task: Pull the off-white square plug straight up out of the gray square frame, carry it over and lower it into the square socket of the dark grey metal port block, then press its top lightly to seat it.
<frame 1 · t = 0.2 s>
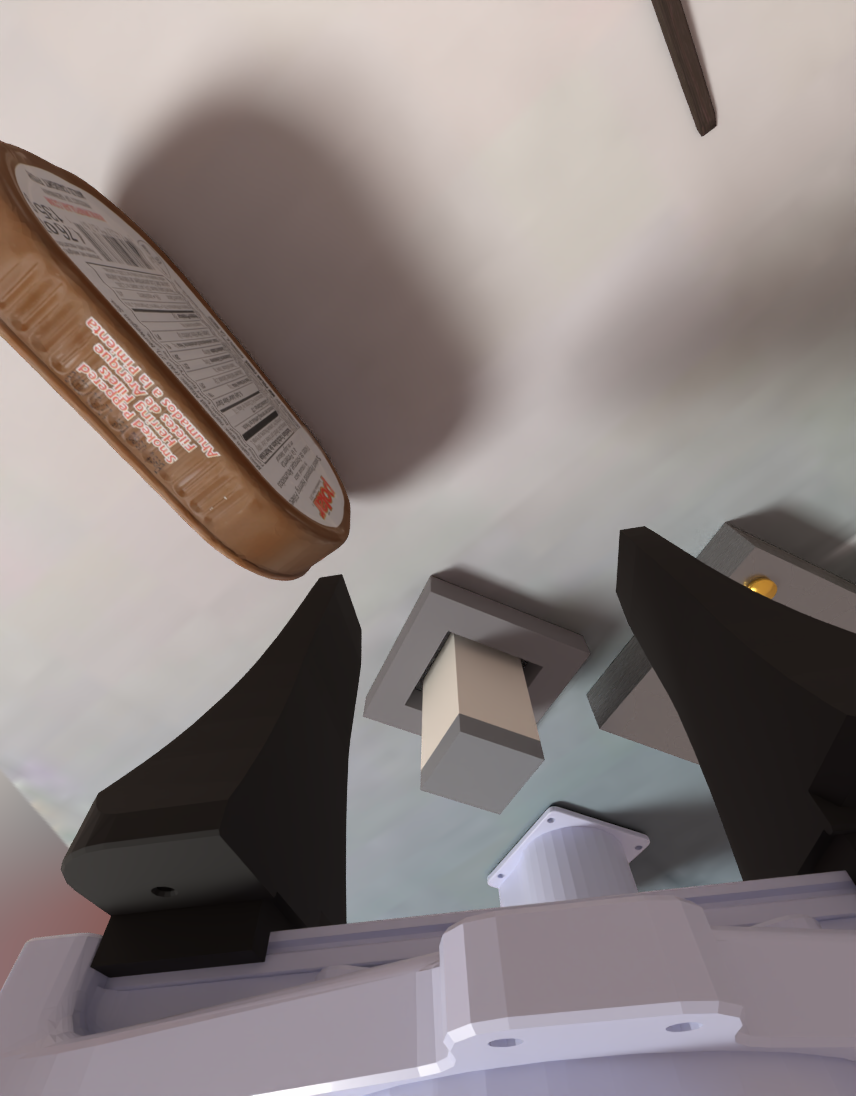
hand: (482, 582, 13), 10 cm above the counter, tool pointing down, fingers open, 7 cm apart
tin: (236, 370, 21), on the counter
port block: (739, 654, 27), on the counter
plug: (474, 714, 25), in the gray square frame
gray square frame: (470, 667, 28), on the counter
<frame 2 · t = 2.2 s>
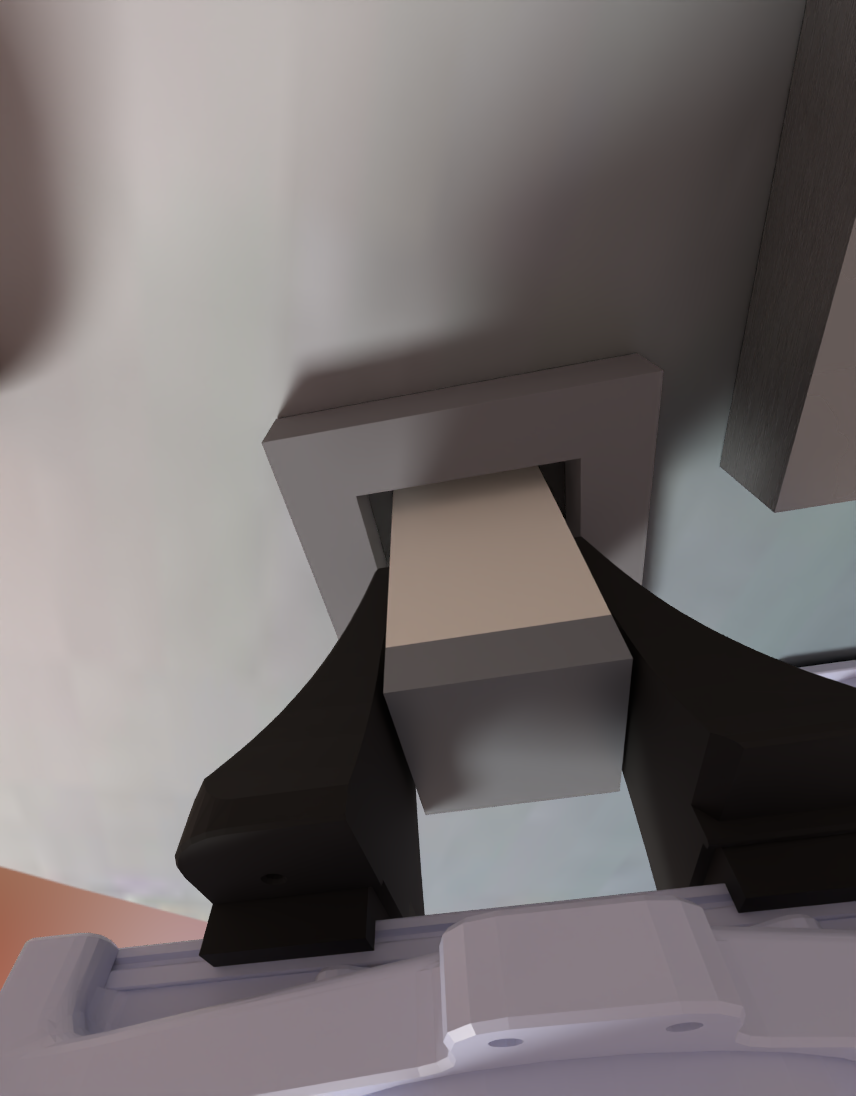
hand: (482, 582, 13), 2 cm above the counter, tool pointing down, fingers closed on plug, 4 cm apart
plug: (488, 616, 12), in the gray square frame, touching gripper
gray square frame: (473, 536, 15), on the counter
when the fingers open (4 cm above the counter, at t = 6.2 s): plug drops 1 cm, resting in port block.
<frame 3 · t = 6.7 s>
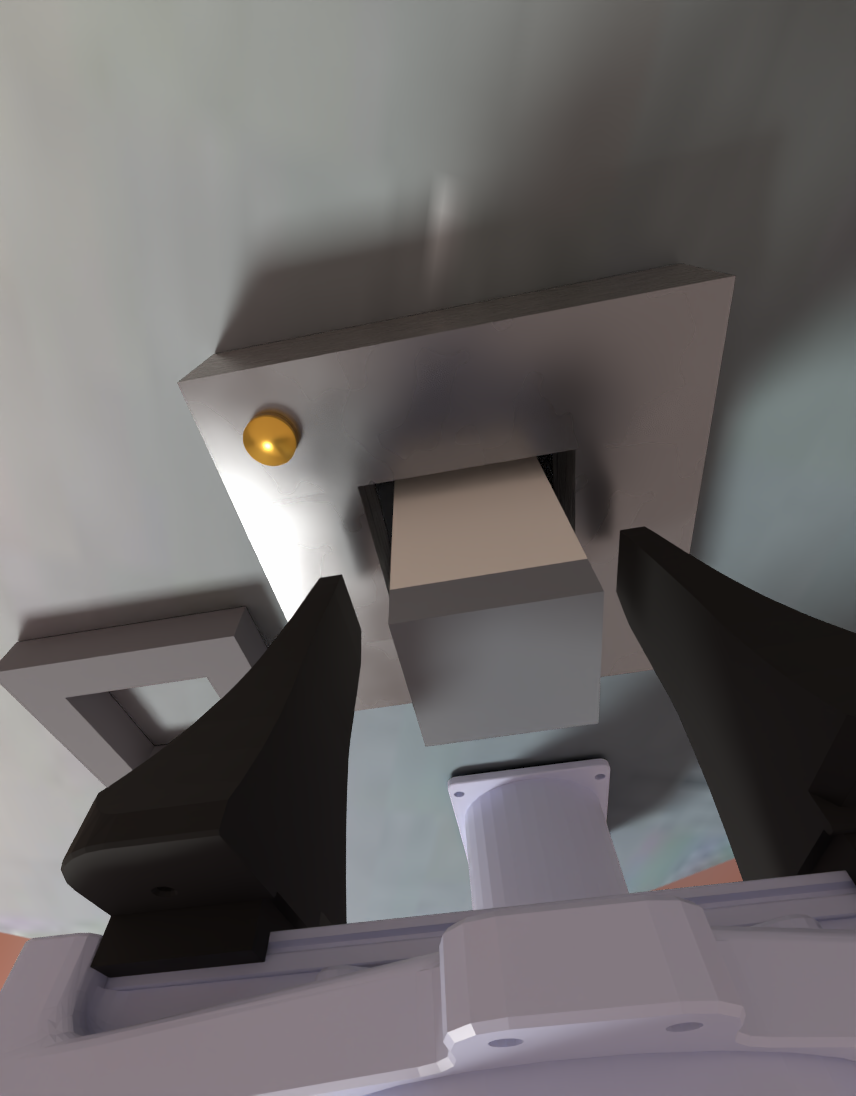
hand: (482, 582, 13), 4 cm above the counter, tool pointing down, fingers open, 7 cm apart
port block: (468, 510, 16), on the counter
plug: (482, 574, 13), in the port block
gray square frame: (184, 700, 21), on the counter
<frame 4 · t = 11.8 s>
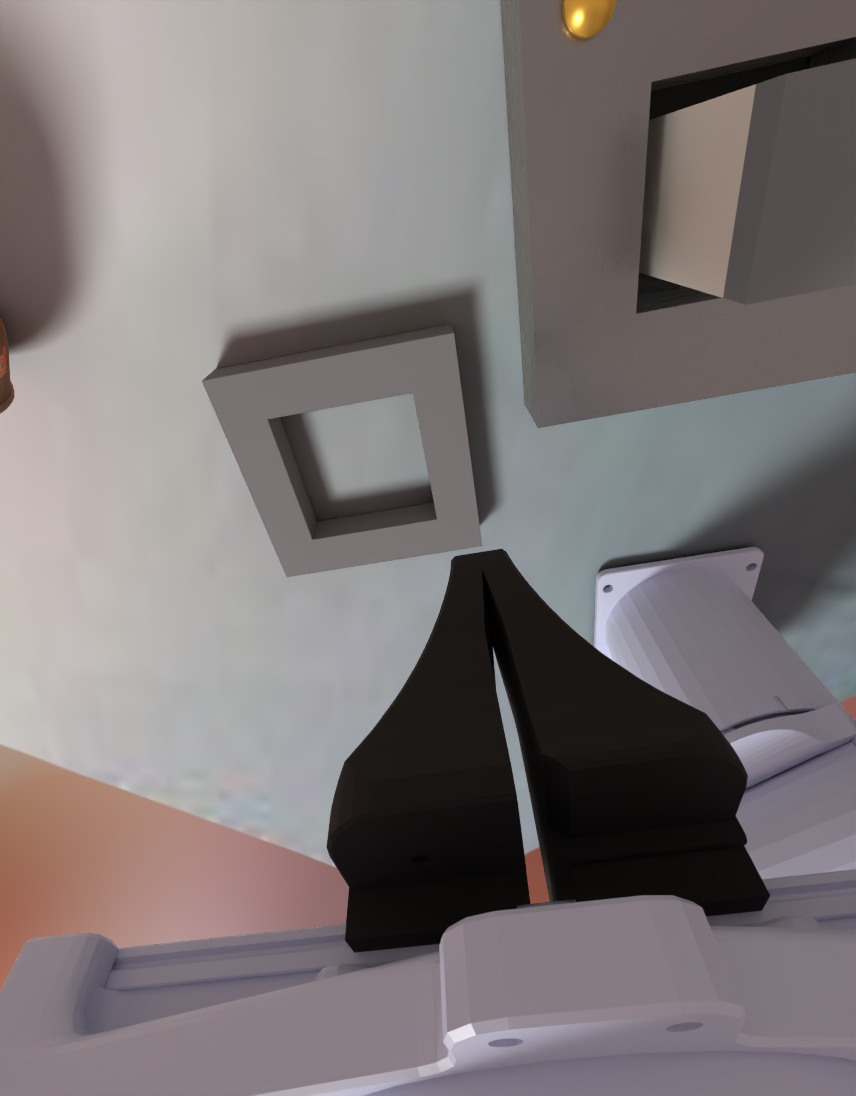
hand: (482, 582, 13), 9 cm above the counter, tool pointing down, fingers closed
port block: (699, 192, 16), on the counter
plug: (763, 186, 13), in the port block
gray square frame: (361, 456, 21), on the counter
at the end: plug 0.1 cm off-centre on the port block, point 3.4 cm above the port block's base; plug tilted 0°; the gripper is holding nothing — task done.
